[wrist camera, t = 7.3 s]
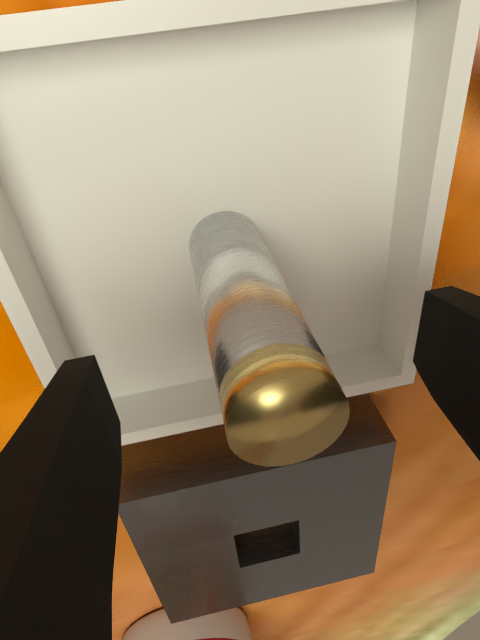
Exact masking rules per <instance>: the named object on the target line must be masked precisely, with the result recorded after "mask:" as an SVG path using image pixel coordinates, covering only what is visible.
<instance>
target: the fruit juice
mask: <svg viewBox="0 0 480 640" xmlns="http://www.w3.org/2000/svg"><path fill="white" fill-rule="evenodd" d="M122 640H252V635H251V631H250V627H249V624H248V621H247V619H246V617H245V615H244V613H243V612H242V611H241V610H240V609H239V608H237V607H236V608H232V609H228V610H224V611H220V612H216V613H212V614H209V615H205V616H201V617H197V618H193V619H189V620H185V621H181V622H177V623H173V624H171V623H170V620H169V618H168V616H167V614H166V612H165V610H164V608H163V609H160V610H158V611H155V612H153V613H151V614H149V615H147V616H145V617H143V618H141V619H140V620H138V621H137V622H135V623H134V624H133V625H132V626H131V627H130V628H129V629H128V630H127V631H126V632H125V634H124V636H123V638H122Z"/></svg>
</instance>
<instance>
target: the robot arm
mask: <svg viewBox="0 0 480 640" xmlns="http://www.w3.org/2000/svg"><path fill="white" fill-rule="evenodd" d="M413 363H414V365H415V367H416V368H417V370H418V372H419V374H420V376H421V378H422V380H423V382H424V383H425V385H426V387H427V389H428V390H429V392H430V394H431V396H432V397H433V399H434V400H435V402H436V403H437V405H438V406H439V407H440V409H441V410H442V411H443V413H444V414H445V415H446V417H447V418H448V420H449V421H450V422H451V424H452V425H453V426H454V428H455V429H456V430H457V432H458V433H459V434H460V436H461V437H462V438H463V440H464V441H465V442H466V444H467V445H468V446H469V448H470V449H471V450H472V452H473V453H474V454H475V455H476V457H477V458H478V459H479V461H480V297H479V296H477V295H474V294H472V293H469V292H467V291H464V290H461V289H458V288H455V287H452V286H449V287H443V288H438V289H433V290H428V291H425V294H424V299H423V305H422V311H421V317H420V322H419V328H418V334H417V339H416V345H415V351H414V357H413ZM121 474H122V445H121V424H120V420H119V417H118V414H117V412H116V409H115V407H114V404H113V401H112V399H111V396H110V394H109V391H108V388H107V386H106V383H105V381H104V378H103V375H102V373H101V370H100V368H99V365H98V362H97V360H96V357H95V355H90V356H85V357H80V358H75V359H70V360H65V361H64V362H63V363H62V365H61V366H60V368H59V369H58V370H57V372H56V373H55V375H54V376H53V378H52V379H51V381H50V382H49V384H48V385H47V387H46V388H45V390H44V391H43V393H42V394H41V396H40V397H39V399H38V400H37V401H36V403H35V404H34V406H33V407H32V409H31V410H30V412H29V413H28V415H27V416H26V418H25V419H24V420H23V422H22V423H21V425H20V426H19V427H18V429H17V430H16V432H15V433H14V434H13V436H12V437H11V439H10V440H9V442H8V443H7V444H6V446H5V447H4V448H3V450H2V451H1V453H0V640H112V581H113V567H114V555H115V544H116V533H117V521H118V510H119V499H120V487H121Z"/></svg>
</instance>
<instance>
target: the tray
mask: <svg viewBox="0 0 480 640" xmlns="http://www.w3.org/2000/svg"><path fill="white" fill-rule="evenodd" d="M479 27H480V0H124V1H116V2H107V3H99V4H91V5H82V6H74V7H66V8H57V9H49V10H41V11H32V12H24V13H16V14H7V15H0V301H1V303H2V305H3V307H4V309H5V311H6V313H7V315H8V317H9V319H10V321H11V323H12V325H13V327H14V329H15V331H16V333H17V335H18V337H19V339H20V341H21V343H22V345H23V347H24V349H25V351H26V353H27V355H28V357H29V359H30V361H31V363H32V365H33V366H34V368H35V370H36V372H37V374H38V376H39V378H40V380H41V382H42V384H43V386H44V388H46V387H47V385H48V384H49V382H50V381H51V379H52V378H53V376H54V375H55V373H56V372H57V370H58V369H59V368H60V366H61V365H62V363H63V362H64V361H65V360H70V359H75V358H80V357H85V356H90V355H95V357H96V360H97V362H98V365H99V368H100V370H101V373H102V375H103V378H104V381H105V383H106V386H107V388H108V391H109V394H110V396H111V399H112V401H113V404H114V407H115V409H116V412H117V414H118V417H119V420H120V424H121V445H122V446H123V445H127V444H132V443H137V442H141V441H146V440H151V439H155V438H160V437H165V436H169V435H174V434H179V433H183V432H188V431H193V430H197V429H202V428H207V427H211V426H216V425H221V424H224V422H223V417H222V412H221V407H220V402H219V397H218V392H217V387H216V382H215V377H214V372H213V367H212V362H211V357H210V352H209V347H208V342H207V337H206V332H205V327H204V322H203V317H202V312H201V307H200V302H199V297H198V292H197V287H196V282H195V277H194V272H193V267H192V262H191V257H190V252H189V240H190V236H191V233H192V231H193V229H194V228H195V226H196V225H197V224H198V223H199V222H200V221H201V220H202V219H203V218H205V217H206V216H208V215H210V214H212V213H215V212H219V211H234V212H237V213H240V214H243V215H244V216H246V217H247V218H249V219H250V220H251V221H252V222H253V223H254V225H255V226H256V228H257V230H258V232H259V234H260V236H261V238H262V239H263V241H264V243H265V245H266V247H267V249H268V251H269V253H270V255H271V256H272V258H273V260H274V262H275V264H276V266H277V268H278V270H279V271H280V273H281V275H282V277H283V279H284V281H285V283H286V285H287V287H288V288H289V290H290V292H291V294H292V296H293V298H294V300H295V302H296V303H297V305H298V307H299V309H300V311H301V313H302V315H303V317H304V319H305V320H306V322H307V324H308V326H309V328H310V330H311V332H312V334H313V335H314V337H315V339H316V341H317V343H318V345H319V347H320V349H321V350H322V352H323V354H324V356H325V358H326V360H327V362H328V364H329V366H330V367H331V369H332V371H333V373H334V375H335V377H336V379H337V381H338V382H339V384H340V386H341V388H342V390H343V392H344V394H345V396H346V398H347V397H352V396H356V395H361V394H366V393H370V392H375V391H380V390H384V389H389V388H394V387H398V386H403V385H408V384H412V383H414V379H415V374H416V367H415V365H414V363H413V357H414V351H415V345H416V339H417V334H418V328H419V322H420V317H421V311H422V305H423V299H424V294H425V291H428V290H431V287H432V282H433V276H434V271H435V265H436V260H437V254H438V249H439V244H440V238H441V233H442V227H443V222H444V217H445V211H446V206H447V200H448V195H449V189H450V184H451V179H452V173H453V168H454V162H455V157H456V151H457V146H458V141H459V135H460V130H461V124H462V119H463V113H464V108H465V103H466V97H467V92H468V86H469V81H470V75H471V70H472V65H473V59H474V54H475V48H476V43H477V38H478V32H479Z"/></svg>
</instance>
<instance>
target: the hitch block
mask: <svg viewBox="0 0 480 640" xmlns="http://www.w3.org/2000/svg"><path fill="white" fill-rule="evenodd" d="M347 400H348V403H349V407H350V414H349V419H348V422H347V425H346V427H345V429H344V430H343V432H342V433H341V435H340V436H339V437H338V438H337V440H336V441H335V442H334V443H332V444H331V445H330V446H329V447H328V448H326V449H325V450H324V451H322V452H321V453H319V454H317V455H315V456H313V457H311V458H309V459H307V460H304V461H301V462H299V463H295V464H291V465H285V466H276V467H268V466H260V465H255V464H252V463H249V462H246V461H244V460H242V459H241V458H239V457H238V456H237V455H236V454H235V453H234V452H233V451H232V450H231V448H230V446H229V444H228V441H227V437H226V432H225V427H224V424H221V425H216V426H211V427H207V428H202V429H197V430H193V431H188V432H183V433H179V434H174V435H169V436H165V437H160V438H155V439H151V440H146V441H141V442H137V443H132V444H127V445H123V446H122V474H121V487H120V499H119V510H118V513H119V515H120V517H121V519H122V521H123V524H124V526H125V528H126V530H127V532H128V534H129V536H130V538H131V540H132V543H133V545H134V547H135V549H136V551H137V553H138V555H139V557H140V559H141V561H142V564H143V566H144V568H145V570H146V572H147V574H148V576H149V578H150V580H151V583H152V585H153V587H154V589H155V591H156V593H157V595H158V597H159V599H160V601H161V604H162V606H163V608H164V610H165V612H166V614H167V616H168V618H169V620H170V623H171V624H173V623H177V622H181V621H185V620H189V619H193V618H197V617H201V616H205V615H209V614H212V613H216V612H220V611H224V610H228V609H232V608H236V607H240V606H244V605H248V604H252V603H256V602H260V601H264V600H267V599H271V598H275V597H279V596H283V595H287V594H291V593H295V592H299V591H303V590H307V589H311V588H315V587H319V586H322V585H326V584H330V583H334V582H338V581H342V580H346V579H350V578H354V577H358V576H362V575H366V574H370V573H374V569H375V563H376V557H377V551H378V546H379V540H380V534H381V528H382V522H383V516H384V510H385V504H386V499H387V493H388V487H389V481H390V475H391V469H392V463H393V457H394V452H395V446H396V440H395V438H394V436H393V435H392V433H391V431H390V430H389V428H388V426H387V425H386V423H385V421H384V420H383V418H382V416H381V415H380V413H379V411H378V410H377V408H376V406H375V405H374V403H373V401H372V400H371V398H370V396H369V395H368V393H366V394H361V395H356V396H352V397H347Z"/></svg>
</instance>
